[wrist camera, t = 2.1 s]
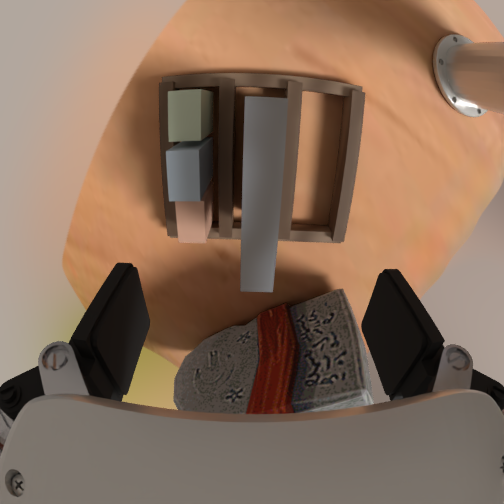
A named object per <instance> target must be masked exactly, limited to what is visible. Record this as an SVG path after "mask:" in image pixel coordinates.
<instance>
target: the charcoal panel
mask: <svg viewBox="0 0 504 504" xmlns="http://www.w3.org/2000/svg"><path fill="white" fill-rule="evenodd" d="M287 110H288V98H275V97H255V96H245V112H244V144H243V180H242V224H241V282H240V291H245V292H273V285H274V275H275V265H276V254H277V243H278V232H279V221H280V209H281V197H282V184H283V171H284V157H285V142H286V127H287Z"/></svg>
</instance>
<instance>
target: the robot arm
mask: <svg viewBox="0 0 504 504" xmlns="http://www.w3.org/2000/svg"><path fill="white" fill-rule="evenodd" d="M433 67H434V73H435V78H436V81H437V84H438V86H439V88H440V90H441V93H442V95H443V96H444V98H445V99H446V101H447V102H448V103H449V104H450V105H451V107H452V108H454V109H455V110H456V111H457V112H459V113H461V114H462V115H466V116H470V117H479V116H481V115H483V114H485V113H486V112H487V111H488V110H489V111H493V112H497V113H501V114H504V42H482V43H474V42H472V41H471V40H470V39H468V38H466V37H464V36H462V35H457V34H454V35H447V36H445V37H443V38H441V39H440V40H439V41H438V43H437V45H436V47H435V50H434V54H433ZM149 326H150V319H149V315H148V311H147V307H146V303H145V299H144V295H143V291H142V287H141V283H140V278H139V274H138V270H137V268H136V267H133V265H132V264H131V263H117V264H116V265H115V267H114V268H113V270H112V271H111V273H110V274H109V276H108V277H107V279H106V280H105V282H104V283H103V285H102V286H101V288H100V290H99V291H98V293H97V294H96V296H95V298H94V299H93V301H92V302H91V304H90V306H89V307H88V309H87V311H86V312H85V314H84V316H83V318H82V319H81V321H80V323H79V325H78V326H77V328H76V330H75V332H74V333H73V335H72V337H71V340H70V341H69V343H66V342H63V341H62V342H61V341H57V342H53V343H51V344H49V345H47V346H46V347H45V348H44V349H43V350H42V352H41V353H40V356H39V359H38V364H39V366H37V367H35V368H33V369H31V370H29V371H26V372H24V373H22V374H20V375H18V376H16V377H14V378H12V379H10V380H8V381H7V382H5V383H3V384H2V386H1V387H0V504H504V387H503V385H501V384H500V383H499V382H497V381H495V380H493V379H491V378H490V377H488V376H486V375H484V374H482V373H480V372H478V371H476V370H474V369H473V361H472V357H471V356H470V354H469V353H468V351H466V350H465V349H464V348H462V347H461V346H458V345H455V344H451V345H448V346H446V347H445V348H444V346H443V342H444V341H445V340H444V338H443V337H442V335H441V333H440V332H439V330H438V328H437V327H436V325H435V323H434V322H433V320H432V319H431V317H430V315H429V314H428V313H427V311H426V309H425V308H424V306H423V305H422V303H421V302H420V300H419V299H418V297H417V296H416V294H415V293H414V291H413V290H412V288H411V287H410V285H409V284H408V282H407V281H406V279H405V278H404V277H403V275H402V274H401V272H400V271H399V270H398V269H385V270H384V271H383V272H382V273H380V274H379V276H378V279H377V282H376V285H375V288H374V291H373V293H372V296H371V299H370V302H369V305H368V307H367V310H366V313H365V315H364V318H363V321H362V325H361V327H362V332H363V334H364V337H365V339H366V342H367V345H368V347H369V350H370V352H371V355H372V358H373V360H374V363H375V366H376V369H377V371H378V374H379V377H380V380H381V383H382V386H383V388H384V391H385V393H386V395H389V397H390V400H391V401H389V402H384V403H379V404H372V405H366V406H360V407H353V408H346V409H338V410H329V411H318V412H306V413H289V414H223V413H206V412H193V411H183V410H174V409H166V408H158V407H152V406H145V405H138V404H132V403H127V402H121V401H122V398H123V395H126V394H127V393H128V391H129V387H130V384H131V381H132V377H133V374H134V371H135V368H136V365H137V362H138V359H139V356H140V353H141V349H142V347H143V344H144V341H145V338H146V335H147V332H148V330H149Z"/></svg>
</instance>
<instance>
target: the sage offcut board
mask: <svg viewBox="0 0 504 504" xmlns="http://www.w3.org/2000/svg"><path fill="white" fill-rule="evenodd" d="M213 100H214V92H212V91H207V90H203V89H192V90H177V91H168V135H169V142H176V141H201V140H202V139H204V138H205V137H206V136H208V135H209V134H210V133H212V132H213Z"/></svg>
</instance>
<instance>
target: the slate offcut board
mask: <svg viewBox="0 0 504 504" xmlns="http://www.w3.org/2000/svg"><path fill="white" fill-rule="evenodd" d="M166 164H167V180H168V194H169V201H201V199H202V197H203V195H204V193H205V191H206V189H207V187H208V185H209V183H210V181H211V179H212V177H213V137H205V138H204V139H202V140H201V141H182V142H180V143H178V144H177V145H175V146H173V147H172V148H170V149H169V150H167V151H166Z"/></svg>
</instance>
